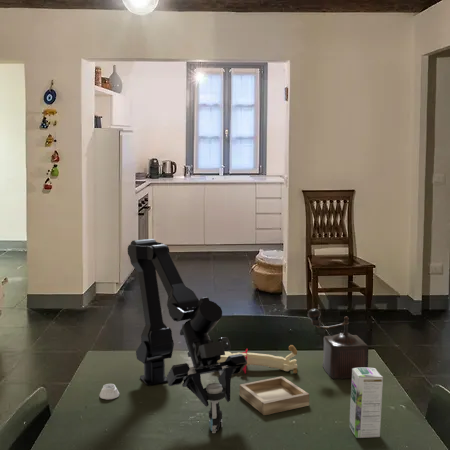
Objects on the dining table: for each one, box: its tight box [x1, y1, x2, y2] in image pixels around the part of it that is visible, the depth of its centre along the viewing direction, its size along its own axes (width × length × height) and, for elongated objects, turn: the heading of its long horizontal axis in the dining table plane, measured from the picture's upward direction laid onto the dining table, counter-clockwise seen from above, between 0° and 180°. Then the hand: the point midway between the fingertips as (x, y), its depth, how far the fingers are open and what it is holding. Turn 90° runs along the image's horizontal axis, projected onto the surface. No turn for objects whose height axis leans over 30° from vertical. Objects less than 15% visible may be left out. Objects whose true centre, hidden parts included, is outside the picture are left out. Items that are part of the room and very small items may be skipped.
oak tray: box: [239, 376, 310, 416], centre depth 158 cm, size 13×13×3 cm
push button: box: [203, 382, 226, 434], centre depth 143 cm, size 7×5×10 cm
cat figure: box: [217, 344, 298, 374], centre depth 179 cm, size 10×9×25 cm
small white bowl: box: [99, 383, 120, 400], centre depth 161 cm, size 5×3×5 cm
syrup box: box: [349, 366, 384, 439], centre depth 141 cm, size 6×6×14 cm
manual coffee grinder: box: [307, 308, 369, 380], centre depth 177 cm, size 16×11×18 cm
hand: (218, 403), depth 141 cm, fingers closed on push button, 5 cm apart
